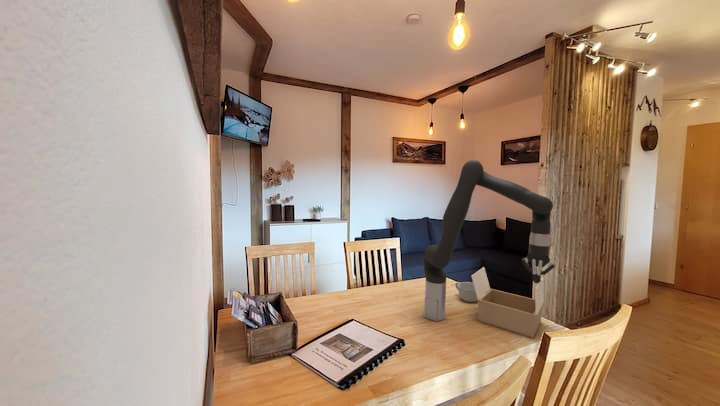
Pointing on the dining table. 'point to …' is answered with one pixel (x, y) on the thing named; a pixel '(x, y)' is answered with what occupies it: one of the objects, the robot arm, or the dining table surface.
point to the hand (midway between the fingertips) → (536, 282)
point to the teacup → (466, 291)
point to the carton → (509, 312)
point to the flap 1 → (480, 282)
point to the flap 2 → (539, 295)
